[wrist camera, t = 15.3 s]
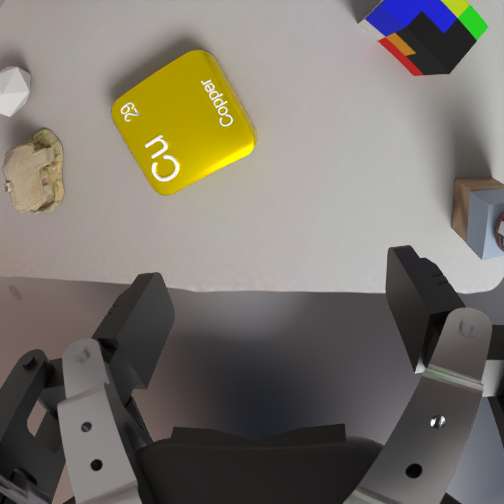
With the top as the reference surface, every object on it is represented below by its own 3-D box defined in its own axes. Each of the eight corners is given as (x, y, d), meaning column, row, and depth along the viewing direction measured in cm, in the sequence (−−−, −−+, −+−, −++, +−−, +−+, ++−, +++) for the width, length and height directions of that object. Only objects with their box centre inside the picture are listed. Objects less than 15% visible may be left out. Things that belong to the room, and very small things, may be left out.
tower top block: (469, 191, 34) (488, 204, 30) (508, 187, 33) (528, 199, 28) (465, 243, 38) (481, 260, 33) (503, 236, 36) (520, 251, 32)
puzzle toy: (358, 24, 30) (380, 5, 21) (398, -16, 26) (427, -39, 17) (413, 75, 32) (449, 73, 23) (449, 34, 28) (488, 26, 19)
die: (16, 62, 34) (-27, 94, 29) (29, 49, 29) (-22, 84, 25) (33, 96, 40) (-8, 129, 35) (48, 89, 35) (0, 125, 31)
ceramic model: (17, 139, 40) (-23, 153, 31) (59, 123, 39) (17, 135, 30) (33, 211, 47) (-1, 235, 38) (76, 204, 45) (40, 230, 37)
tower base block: (454, 179, 38) (470, 189, 34) (492, 177, 37) (509, 187, 33) (451, 227, 42) (465, 241, 38) (487, 223, 41) (502, 236, 36)
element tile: (263, 143, 39) (261, 149, 35) (170, 191, 44) (158, 203, 39) (210, 47, 33) (201, 42, 29) (120, 105, 38) (103, 108, 34)
